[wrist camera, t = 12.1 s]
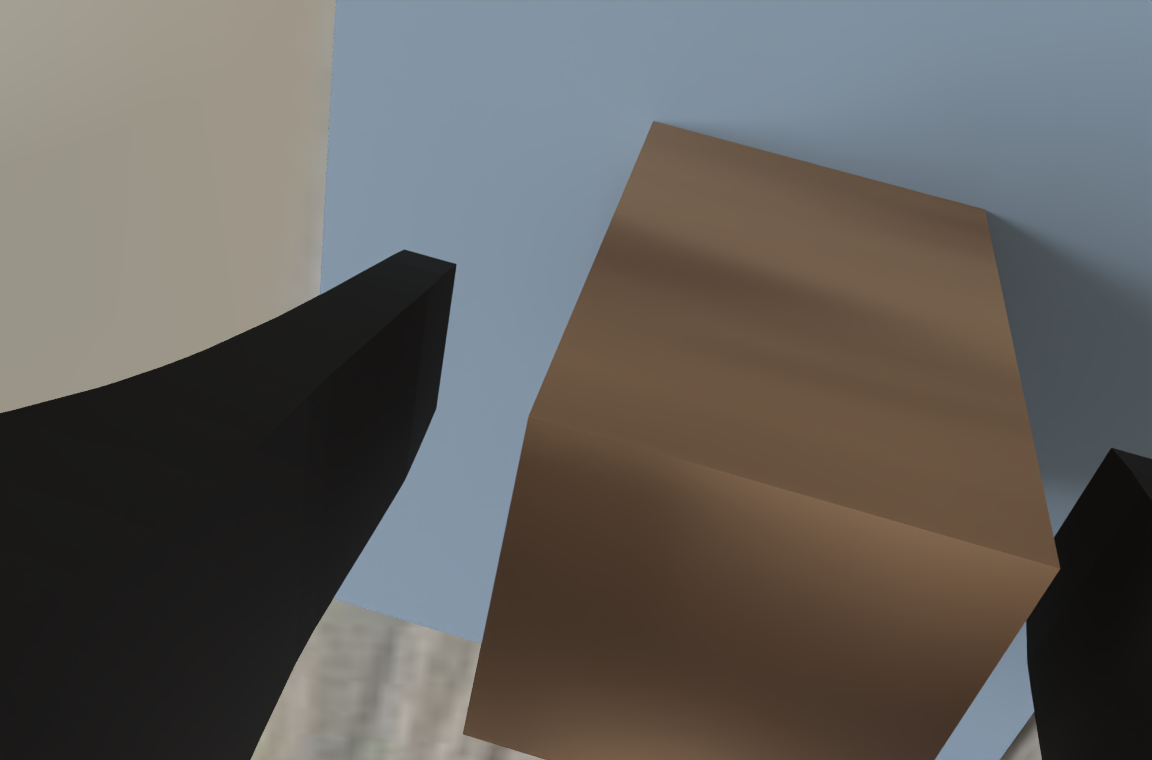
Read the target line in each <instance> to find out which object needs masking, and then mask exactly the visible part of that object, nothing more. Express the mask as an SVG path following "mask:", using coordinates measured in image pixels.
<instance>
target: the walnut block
mask: <svg viewBox="0 0 1152 760" xmlns="http://www.w3.org/2000/svg"><path fill="white" fill-rule="evenodd" d="M1059 570H1060V565H1059V560H1058V555H1057V550H1056V546H1055V541H1054V536H1053V531H1052V527H1051V522H1050V517H1049V512H1048V508H1047V503H1046V498H1045V493H1044V489H1043V484H1042V479H1041V474H1040V470H1039V465H1038V460H1037V455H1036V451H1035V446H1034V441H1033V436H1032V431H1031V427H1030V422H1029V417H1028V412H1027V408H1026V403H1025V398H1024V393H1023V389H1022V384H1021V379H1020V374H1019V370H1018V365H1017V360H1016V355H1015V351H1014V346H1013V341H1012V336H1011V331H1010V327H1009V322H1008V317H1007V312H1006V308H1005V303H1004V298H1003V293H1002V289H1001V284H1000V279H999V274H998V270H997V265H996V260H995V255H994V251H993V246H992V241H991V236H990V231H989V227H988V222H987V217H986V212H985V209H981V208H978V207H974V206H970V205H966V204H963V203H959V202H955V201H951V200H948V199H944V198H940V197H936V196H933V195H929V194H925V193H921V192H918V191H914V190H910V189H906V188H903V187H899V186H895V185H891V184H888V183H884V182H880V181H876V180H873V179H869V178H865V177H861V176H858V175H854V174H850V173H847V172H843V171H839V170H835V169H832V168H828V167H824V166H820V165H817V164H813V163H809V162H805V161H802V160H798V159H794V158H790V157H787V156H783V155H779V154H775V153H772V152H768V151H764V150H760V149H757V148H753V147H749V146H745V145H742V144H738V143H734V142H730V141H727V140H723V139H719V138H715V137H712V136H708V135H704V134H700V133H697V132H693V131H689V130H685V129H682V128H678V127H674V126H670V125H667V124H663V123H659V122H656V121H653V123H652V125H651V127H650V130H649V132H648V134H647V137H646V139H645V142H644V144H643V146H642V149H641V151H640V153H639V156H638V158H637V160H636V163H635V165H634V168H633V170H632V172H631V175H630V177H629V179H628V182H627V184H626V186H625V189H624V191H623V194H622V196H621V198H620V201H619V203H618V205H617V208H616V210H615V212H614V215H613V217H612V220H611V222H610V224H609V227H608V229H607V231H606V234H605V236H604V239H603V241H602V243H601V246H600V248H599V250H598V253H597V255H596V257H595V260H594V262H593V265H592V267H591V269H590V272H589V274H588V276H587V279H586V281H585V283H584V286H583V288H582V291H581V293H580V295H579V298H578V300H577V302H576V305H575V307H574V309H573V312H572V314H571V317H570V319H569V321H568V324H567V326H566V328H565V331H564V333H563V335H562V338H561V340H560V343H559V345H558V347H557V350H556V352H555V354H554V357H553V359H552V361H551V364H550V366H549V369H548V371H547V373H546V376H545V378H544V380H543V383H542V385H541V388H540V390H539V392H538V395H537V397H536V399H535V402H534V404H533V406H532V409H531V411H530V414H529V416H528V421H527V426H526V430H525V435H524V440H523V445H522V450H521V455H520V460H519V464H518V469H517V474H516V479H515V484H514V489H513V494H512V498H511V503H510V508H509V513H508V518H507V523H506V527H505V532H504V537H503V542H502V547H501V552H500V557H499V561H498V566H497V571H496V576H495V581H494V586H493V591H492V595H491V600H490V605H489V610H488V615H487V620H486V625H485V629H484V634H483V639H482V644H481V649H480V654H479V658H478V663H477V668H476V673H475V678H474V683H473V688H472V692H471V697H470V702H469V707H468V712H467V717H466V722H465V726H464V731H463V734H464V735H467V736H471V737H474V738H477V739H480V740H484V741H487V742H490V743H493V744H497V745H500V746H503V747H506V748H510V749H513V750H516V751H519V752H523V753H526V754H529V755H532V756H536V757H539V758H542V759H545V760H935V759H936V757H937V756H938V754H939V753H940V751H941V750H942V748H943V747H944V745H945V743H946V742H947V740H948V739H949V737H950V736H951V734H952V733H953V731H954V730H955V728H956V727H957V725H958V724H959V722H960V721H961V719H962V718H963V716H964V715H965V713H966V712H967V710H968V708H969V707H970V705H971V704H972V702H973V701H974V699H975V698H976V696H977V695H978V693H979V692H980V690H981V689H982V687H983V686H984V684H985V683H986V681H987V680H988V678H989V676H990V675H991V673H992V672H993V670H994V669H995V667H996V666H997V664H998V663H999V661H1000V660H1001V658H1002V657H1003V655H1004V654H1005V652H1006V651H1007V649H1008V648H1009V646H1010V645H1011V643H1012V641H1013V640H1014V638H1015V637H1016V635H1017V634H1018V632H1019V631H1020V629H1021V628H1022V626H1023V625H1024V623H1025V622H1026V620H1027V619H1028V617H1029V616H1030V614H1031V613H1032V611H1033V609H1034V608H1035V606H1036V605H1037V603H1038V602H1039V600H1040V599H1041V597H1042V596H1043V594H1044V593H1045V591H1046V590H1047V588H1048V587H1049V585H1050V584H1051V582H1052V581H1053V579H1054V577H1055V576H1056V574H1057V573H1058V571H1059Z"/></svg>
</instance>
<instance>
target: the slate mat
mask: <svg viewBox="0 0 1152 760" xmlns="http://www.w3.org/2000/svg"><path fill="white" fill-rule="evenodd" d="M653 121H656V122H659V123H663V124H667V125H670V126H674V127H678V128H682V129H685V130H689V131H693V132H697V133H700V134H704V135H708V136H712V137H715V138H719V139H723V140H727V141H730V142H734V143H738V144H742V145H745V146H749V147H753V148H757V149H760V150H764V151H768V152H772V153H775V154H779V155H783V156H787V157H790V158H794V159H798V160H802V161H805V162H809V163H813V164H817V165H820V166H824V167H828V168H832V169H835V170H839V171H843V172H847V173H850V174H854V175H858V176H861V177H865V178H869V179H873V180H876V181H880V182H884V183H888V184H891V185H895V186H899V187H903V188H906V189H910V190H914V191H918V192H921V193H925V194H929V195H933V196H936V197H940V198H944V199H948V200H951V201H955V202H959V203H963V204H966V205H970V206H974V207H978V208H981V209H985V212H986V217H987V222H988V227H989V231H990V236H991V241H992V246H993V251H994V255H995V260H996V265H997V270H998V274H999V279H1000V284H1001V289H1002V293H1003V298H1004V303H1005V308H1006V312H1007V317H1008V322H1009V327H1010V331H1011V336H1012V341H1013V346H1014V351H1015V355H1016V360H1017V365H1018V370H1019V374H1020V379H1021V384H1022V389H1023V393H1024V398H1025V403H1026V408H1027V412H1028V417H1029V422H1030V427H1031V431H1032V436H1033V441H1034V446H1035V451H1036V455H1037V460H1038V465H1039V470H1040V474H1041V479H1042V484H1043V489H1044V493H1045V498H1046V503H1047V508H1048V512H1049V517H1050V522H1051V527H1052V531H1053V536H1054V537H1055V535H1056V533H1057V532H1058V530H1059V529H1060V527H1061V526H1062V524H1063V522H1064V521H1065V519H1066V518H1067V516H1068V515H1069V513H1070V511H1071V510H1072V508H1073V507H1074V505H1075V504H1076V502H1077V500H1078V499H1079V497H1080V496H1081V494H1082V493H1083V491H1084V489H1085V488H1086V486H1087V485H1088V483H1089V482H1090V480H1091V479H1092V477H1093V475H1094V474H1095V472H1096V471H1097V469H1098V468H1099V466H1100V464H1101V463H1102V461H1103V460H1104V458H1105V457H1106V455H1107V453H1108V452H1109V450H1110V449H1111V448H1115V449H1118V450H1122V451H1125V452H1129V453H1132V454H1136V455H1139V456H1143V457H1147V458H1150V459H1152V0H336V6H335V25H334V43H333V62H332V80H331V98H330V117H329V135H328V154H327V172H326V191H325V209H324V228H323V246H322V265H321V283H320V295H321V294H323V293H324V292H326V291H328V290H330V289H332V288H334V287H335V286H337V285H339V284H341V283H343V282H344V281H346V280H348V279H350V278H352V277H354V276H355V275H357V274H359V273H361V272H363V271H364V270H366V269H368V268H370V267H372V266H374V265H375V264H377V263H379V262H381V261H383V260H385V259H386V258H388V257H390V256H392V255H394V254H396V253H398V252H400V251H402V250H404V249H405V250H408V251H412V252H415V253H419V254H423V255H426V256H430V257H433V258H437V259H440V260H444V261H448V262H451V263H455V264H457V266H456V273H455V280H454V288H453V295H452V302H451V309H450V316H449V323H448V330H447V337H446V344H445V351H444V358H443V365H442V372H441V380H440V387H439V394H438V401H437V408H436V411H435V413H434V416H433V418H432V420H431V423H430V425H429V427H428V430H427V432H426V434H425V437H424V439H423V441H422V444H421V446H420V448H419V451H418V453H417V455H416V457H415V459H414V462H413V464H412V466H411V468H410V471H409V473H408V475H407V477H406V479H405V481H404V483H403V485H402V486H401V488H400V490H399V491H398V493H397V495H396V497H395V498H394V500H393V501H392V503H391V505H390V506H389V508H388V510H387V511H386V513H385V515H384V516H383V518H382V520H381V521H380V523H379V525H378V526H377V528H376V530H375V531H374V533H373V535H372V536H371V538H370V539H369V541H368V543H367V544H366V546H365V548H364V549H363V551H362V553H361V554H360V556H359V557H358V559H357V561H356V562H355V564H354V566H353V567H352V569H351V570H350V572H349V574H348V575H347V577H346V579H345V580H344V582H343V583H342V585H341V587H340V588H339V590H338V592H337V593H336V595H335V597H334V598H333V599H335V600H339V601H342V602H345V603H348V604H352V605H355V606H358V607H362V608H365V609H368V610H372V611H375V612H378V613H381V614H385V615H388V616H391V617H395V618H398V619H401V620H405V621H408V622H411V623H414V624H418V625H421V626H424V627H428V628H431V629H434V630H438V631H441V632H444V633H448V634H451V635H454V636H457V637H461V638H464V639H467V640H471V641H474V642H477V643H481V644H482V639H483V634H484V629H485V625H486V620H487V615H488V610H489V605H490V600H491V595H492V591H493V586H494V581H495V576H496V571H497V566H498V561H499V557H500V552H501V547H502V542H503V537H504V532H505V527H506V523H507V518H508V513H509V508H510V503H511V498H512V494H513V489H514V484H515V479H516V474H517V469H518V464H519V460H520V455H521V450H522V445H523V440H524V435H525V430H526V426H527V421H528V416H529V414H530V411H531V409H532V406H533V404H534V402H535V399H536V397H537V395H538V392H539V390H540V388H541V385H542V383H543V380H544V378H545V376H546V373H547V371H548V369H549V366H550V364H551V361H552V359H553V357H554V354H555V352H556V350H557V347H558V345H559V343H560V340H561V338H562V335H563V333H564V331H565V328H566V326H567V324H568V321H569V319H570V317H571V314H572V312H573V309H574V307H575V305H576V302H577V300H578V298H579V295H580V293H581V291H582V288H583V286H584V283H585V281H586V279H587V276H588V274H589V272H590V269H591V267H592V265H593V262H594V260H595V257H596V255H597V253H598V250H599V248H600V246H601V243H602V241H603V239H604V236H605V234H606V231H607V229H608V227H609V224H610V222H611V220H612V217H613V215H614V212H615V210H616V208H617V205H618V203H619V201H620V198H621V196H622V194H623V191H624V189H625V186H626V184H627V182H628V179H629V177H630V175H631V172H632V170H633V168H634V165H635V163H636V160H637V158H638V156H639V153H640V151H641V149H642V146H643V144H644V142H645V139H646V137H647V134H648V132H649V130H650V127H651V125H652V123H653ZM1033 713H1034V706H1033V700H1032V693H1031V687H1030V680H1029V673H1028V665H1027V636H1026V622H1025V623H1024V625H1023V626H1022V628H1021V629H1020V631H1019V632H1018V634H1017V635H1016V637H1015V638H1014V640H1013V641H1012V643H1011V645H1010V646H1009V648H1008V649H1007V651H1006V652H1005V654H1004V655H1003V657H1002V658H1001V660H1000V661H999V663H998V664H997V666H996V667H995V669H994V670H993V672H992V673H991V675H990V676H989V678H988V680H987V681H986V683H985V684H984V686H983V687H982V689H981V690H980V692H979V693H978V695H977V696H976V698H975V699H974V701H973V702H972V704H971V705H970V707H969V708H968V710H967V712H966V713H965V715H964V716H963V718H962V719H961V721H960V722H959V724H958V725H957V727H956V728H955V730H954V731H953V733H952V734H951V736H950V737H949V739H948V740H947V742H946V743H945V745H944V747H943V748H942V750H941V751H940V753H939V754H938V756H937V757H936V759H935V760H1000V758H1001V757H1002V756H1003V754H1004V753H1005V752H1006V750H1007V749H1008V747H1009V746H1010V745H1011V743H1012V742H1013V740H1014V739H1015V738H1016V736H1017V735H1018V733H1019V732H1020V731H1021V729H1022V728H1023V727H1024V725H1025V724H1026V722H1027V721H1028V720H1029V718H1030V717H1031V715H1032V714H1033Z"/></svg>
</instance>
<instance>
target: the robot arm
mask: <svg viewBox="0 0 1152 760" xmlns="http://www.w3.org/2000/svg"><path fill="white" fill-rule="evenodd" d="M456 266H457V264H455V263H451V262H448V261H444V260H440V259H437V258H433V257H430V256H426V255H423V254H419V253H415V252H412V251H408V250H405V249H404V250H402V251H400V252H398V253H396V254H394V255H392V256H390V257H388V258H386V259H385V260H383V261H381V262H379V263H377V264H375V265H374V266H372V267H370V268H368V269H366V270H364V271H363V272H361V273H359V274H357V275H355V276H354V277H352V278H350V279H348V280H346V281H344V282H343V283H341V284H339V285H337V286H335V287H334V288H332V289H330V290H328V291H326V292H324V293H323V294H321V295H319V296H317V297H315V298H313V299H311V300H309V301H307V302H305V303H304V304H302V305H300V306H298V307H296V308H294V309H292V310H290V311H288V312H286V313H284V314H282V315H280V316H278V317H276V318H274V319H272V320H270V321H268V322H265V323H263V324H261V325H259V326H257V327H255V328H252V329H250V330H248V331H246V332H244V333H241V334H239V335H237V336H235V337H232V338H230V339H228V340H226V341H224V342H222V343H219V344H217V345H215V346H213V347H210V348H209V349H206V350H204V351H201V352H199V353H196V354H194V355H191V356H189V357H187V358H184V359H181V360H178V361H176V362H174V363H170V364H168V365H165V366H163V367H160V368H157V369H154V370H151V371H148V372H145V373H142V374H139V375H136V376H133V377H130V378H128V379H124V380H122V381H118V382H116V383H112V384H109V385H106V386H102V387H99V388H95V389H92V390H88V391H84V392H80V393H77V394H73V395H69V396H65V397H61V398H58V399H54V400H50V401H46V402H42V403H39V404H35V405H31V406H28V407H23V408H20V409H16V410H12V411H8V412H3V413H0V760H250V759H251V757H252V755H253V753H254V751H255V748H256V746H257V744H258V742H259V740H260V737H261V735H262V733H263V731H264V729H265V727H266V725H267V723H268V721H269V718H270V716H271V714H272V712H273V710H274V708H275V706H276V704H277V702H278V699H279V697H280V695H281V693H282V691H283V689H284V687H285V685H286V683H287V680H288V678H289V676H290V674H291V672H292V670H293V668H294V666H295V664H296V662H297V660H298V658H299V656H300V655H301V653H302V651H303V649H304V647H305V645H306V644H307V642H308V640H309V638H310V636H311V635H312V633H313V631H314V629H315V628H316V626H317V624H318V623H319V621H320V619H321V618H322V616H323V614H324V613H325V611H326V610H327V608H328V606H329V605H330V603H331V601H332V600H333V598H334V597H335V595H336V593H337V592H338V590H339V588H340V587H341V585H342V583H343V582H344V580H345V579H346V577H347V575H348V574H349V572H350V570H351V569H352V567H353V566H354V564H355V562H356V561H357V559H358V557H359V556H360V554H361V553H362V551H363V549H364V548H365V546H366V544H367V543H368V541H369V539H370V538H371V536H372V535H373V533H374V531H375V530H376V528H377V526H378V525H379V523H380V521H381V520H382V518H383V516H384V515H385V513H386V511H387V510H388V508H389V506H390V505H391V503H392V501H393V500H394V498H395V497H396V495H397V493H398V491H399V490H400V488H401V486H402V485H403V483H404V481H405V479H406V477H407V475H408V473H409V471H410V468H411V466H412V464H413V462H414V459H415V457H416V455H417V453H418V451H419V448H420V446H421V444H422V441H423V439H424V437H425V434H426V432H427V430H428V427H429V425H430V423H431V420H432V418H433V416H434V413H435V411H436V408H437V401H438V394H439V387H440V380H441V372H442V365H443V358H444V351H445V344H446V337H447V330H448V323H449V316H450V309H451V302H452V295H453V288H454V280H455V273H456ZM1054 541H1055V546H1056V550H1057V555H1058V560H1059V565H1060V570H1059V571H1058V573H1057V574H1056V576H1055V577H1054V579H1053V581H1052V582H1051V584H1050V585H1049V587H1048V588H1047V590H1046V591H1045V593H1044V594H1043V596H1042V597H1041V599H1040V600H1039V602H1038V603H1037V605H1036V606H1035V608H1034V609H1033V611H1032V613H1031V614H1030V616H1029V617H1028V619H1027V620H1026V636H1027V665H1028V673H1029V680H1030V687H1031V693H1032V700H1033V706H1034V712H1035V719H1036V725H1037V732H1038V738H1039V744H1040V749H1041V755H1042V760H1152V459H1150V458H1147V457H1143V456H1139V455H1136V454H1132V453H1129V452H1125V451H1122V450H1118V449H1115V448H1111V449H1110V450H1109V452H1108V453H1107V455H1106V457H1105V458H1104V460H1103V461H1102V463H1101V464H1100V466H1099V468H1098V469H1097V471H1096V472H1095V474H1094V475H1093V477H1092V479H1091V480H1090V482H1089V483H1088V485H1087V486H1086V488H1085V489H1084V491H1083V493H1082V494H1081V496H1080V497H1079V499H1078V500H1077V502H1076V504H1075V505H1074V507H1073V508H1072V510H1071V511H1070V513H1069V515H1068V516H1067V518H1066V519H1065V521H1064V522H1063V524H1062V526H1061V527H1060V529H1059V530H1058V532H1057V533H1056V535H1055V537H1054Z"/></svg>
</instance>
